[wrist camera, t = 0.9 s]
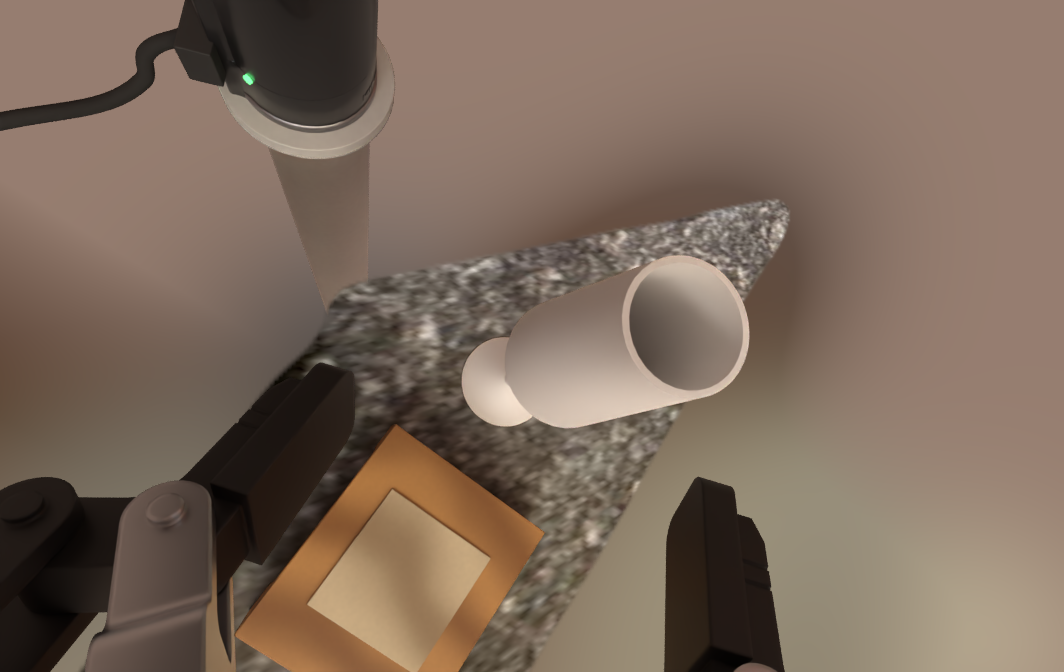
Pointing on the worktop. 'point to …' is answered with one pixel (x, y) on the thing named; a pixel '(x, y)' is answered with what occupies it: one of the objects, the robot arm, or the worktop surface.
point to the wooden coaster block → (394, 570)
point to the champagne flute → (614, 348)
